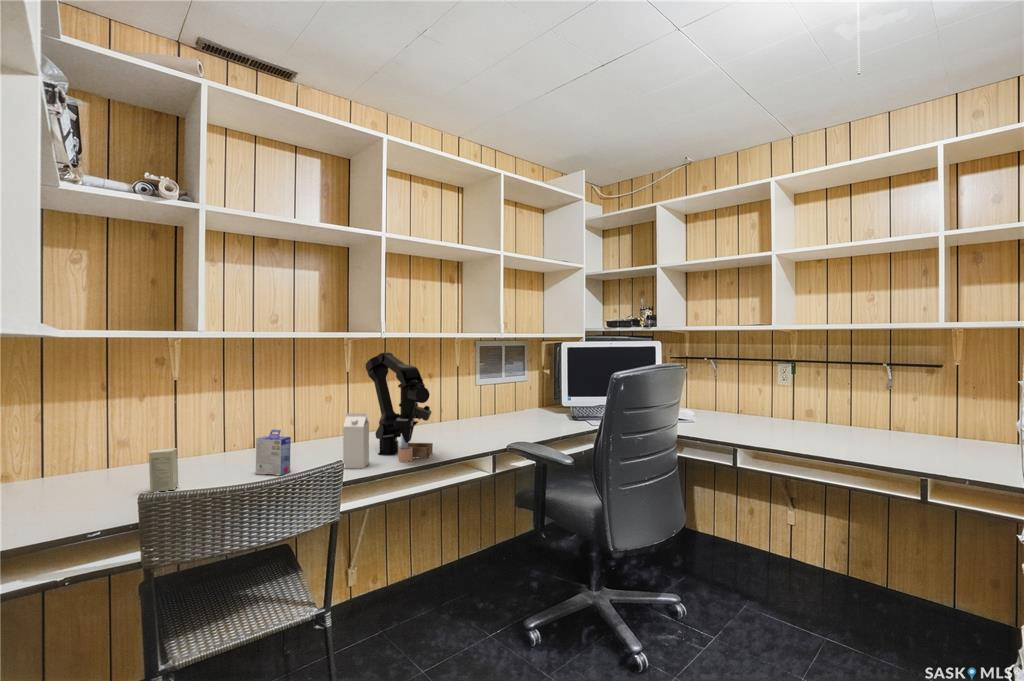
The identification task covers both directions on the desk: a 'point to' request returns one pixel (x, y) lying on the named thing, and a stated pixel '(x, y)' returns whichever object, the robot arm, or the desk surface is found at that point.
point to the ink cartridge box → (273, 454)
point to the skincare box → (163, 469)
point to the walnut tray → (421, 449)
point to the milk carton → (356, 440)
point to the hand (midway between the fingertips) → (408, 441)
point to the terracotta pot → (405, 454)
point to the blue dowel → (403, 443)
